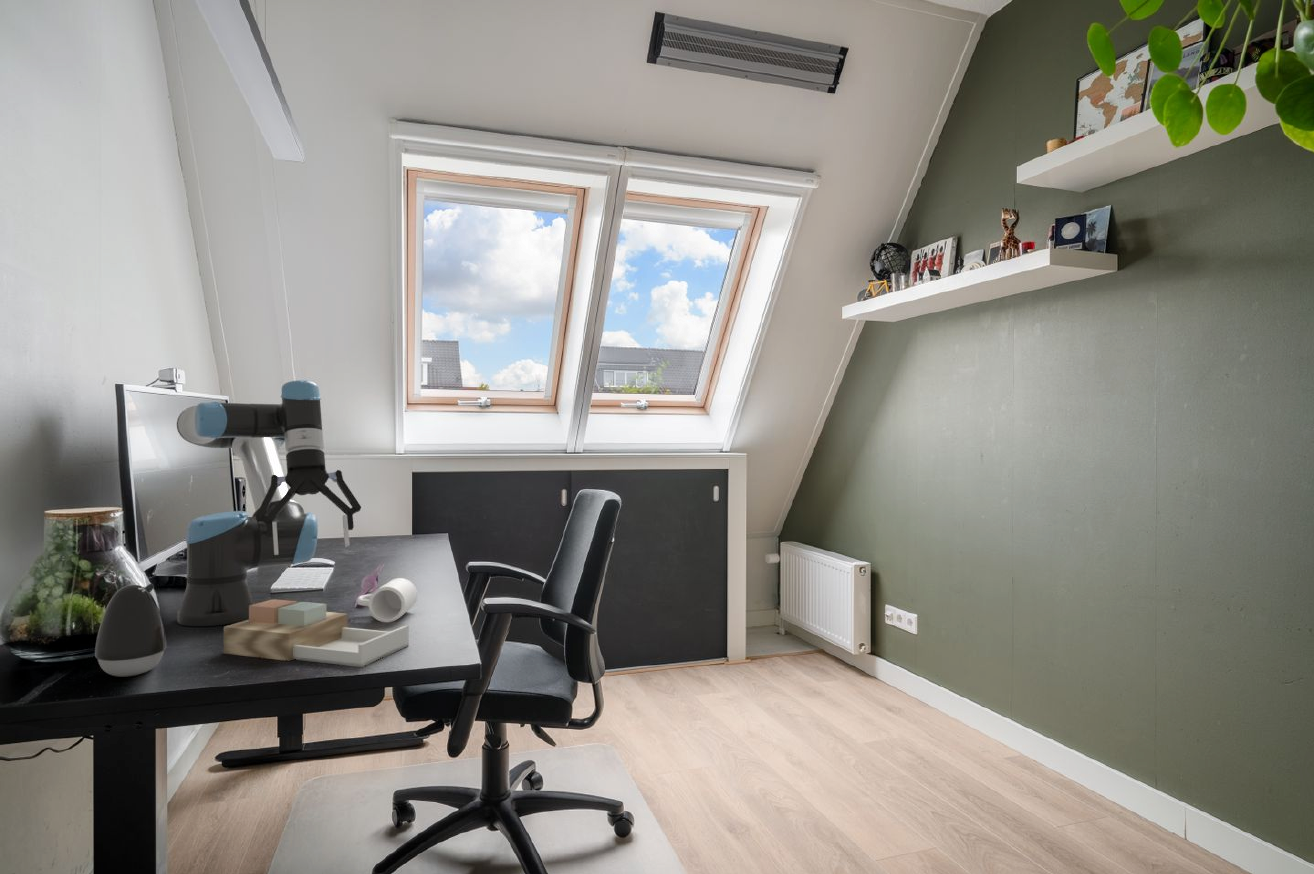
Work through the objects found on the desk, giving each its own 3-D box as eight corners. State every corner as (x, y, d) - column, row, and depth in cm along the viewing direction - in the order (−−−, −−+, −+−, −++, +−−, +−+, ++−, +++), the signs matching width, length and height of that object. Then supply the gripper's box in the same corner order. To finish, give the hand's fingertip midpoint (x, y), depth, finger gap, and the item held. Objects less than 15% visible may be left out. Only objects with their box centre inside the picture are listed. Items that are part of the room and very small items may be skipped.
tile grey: (278, 623, 147) (278, 608, 147) (301, 616, 153) (301, 601, 152) (304, 626, 145) (304, 610, 145) (326, 619, 151) (326, 603, 151)
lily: (368, 600, 195) (349, 569, 192) (409, 583, 194) (391, 552, 191) (353, 626, 184) (333, 593, 180) (398, 608, 183) (378, 575, 180)
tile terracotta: (249, 621, 149) (249, 605, 149) (272, 614, 155) (272, 599, 154) (274, 623, 147) (274, 608, 147) (297, 616, 153) (297, 601, 153)
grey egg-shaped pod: (180, 663, 138) (180, 579, 138) (139, 682, 128) (140, 591, 128) (124, 662, 138) (124, 578, 138) (79, 681, 128) (80, 590, 128)
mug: (417, 612, 178) (417, 577, 178) (404, 622, 169) (404, 586, 168) (365, 612, 178) (365, 577, 178) (349, 622, 168) (349, 586, 168)
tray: (292, 659, 141) (293, 637, 141) (344, 639, 154) (344, 619, 154) (361, 667, 137) (362, 644, 137) (408, 646, 150) (408, 625, 150)
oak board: (223, 653, 144) (223, 626, 144) (286, 632, 160) (287, 608, 160) (288, 660, 140) (288, 633, 140) (347, 638, 155) (347, 613, 155)
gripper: (238, 451, 156) (244, 555, 152) (368, 443, 167) (377, 540, 163) (240, 459, 162) (246, 559, 158) (365, 451, 174) (373, 544, 169)
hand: (312, 550), depth 160 cm, fingers open, 13 cm apart
